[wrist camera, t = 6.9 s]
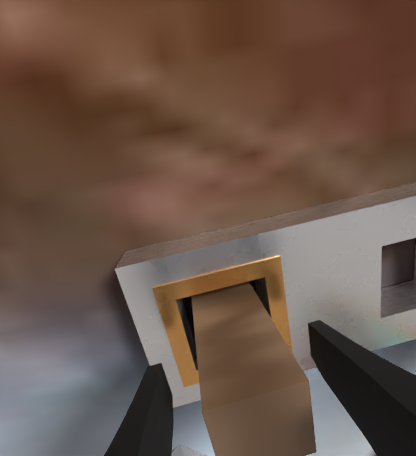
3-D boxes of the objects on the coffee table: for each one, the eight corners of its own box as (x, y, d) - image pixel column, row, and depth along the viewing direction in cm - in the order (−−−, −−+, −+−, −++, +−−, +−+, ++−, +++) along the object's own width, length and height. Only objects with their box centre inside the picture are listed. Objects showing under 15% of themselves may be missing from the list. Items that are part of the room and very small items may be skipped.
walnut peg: (242, 271, 15) (308, 380, 7) (250, 315, 16) (316, 452, 8) (190, 284, 15) (202, 411, 7) (201, 328, 16) (223, 481, 8)
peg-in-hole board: (454, 172, 15) (508, 174, 12) (440, 299, 18) (482, 321, 15) (125, 250, 14) (114, 269, 11) (168, 374, 16) (165, 411, 14)
